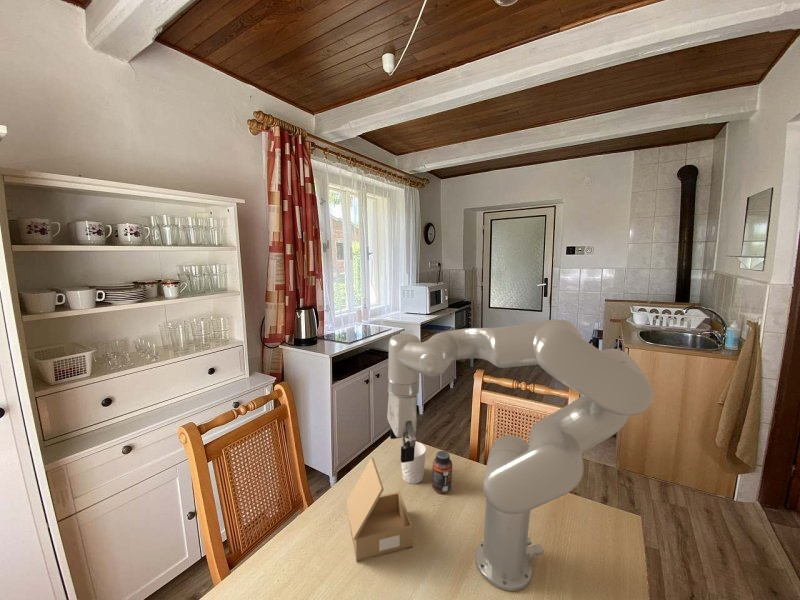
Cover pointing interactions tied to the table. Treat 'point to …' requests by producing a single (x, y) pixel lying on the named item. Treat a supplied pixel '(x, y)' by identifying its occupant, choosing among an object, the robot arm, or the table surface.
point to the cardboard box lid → (364, 497)
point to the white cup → (415, 465)
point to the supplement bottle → (442, 472)
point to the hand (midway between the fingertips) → (401, 448)
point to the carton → (385, 529)
